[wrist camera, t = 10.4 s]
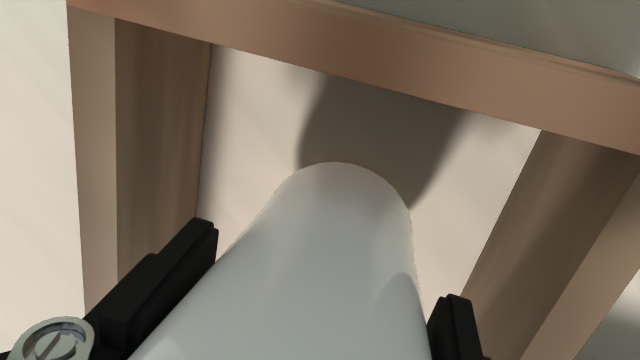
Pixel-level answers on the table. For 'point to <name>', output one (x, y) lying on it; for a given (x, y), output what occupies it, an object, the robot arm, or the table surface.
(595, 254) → the angular wooden frame
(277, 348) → the white cup
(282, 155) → the table surface
